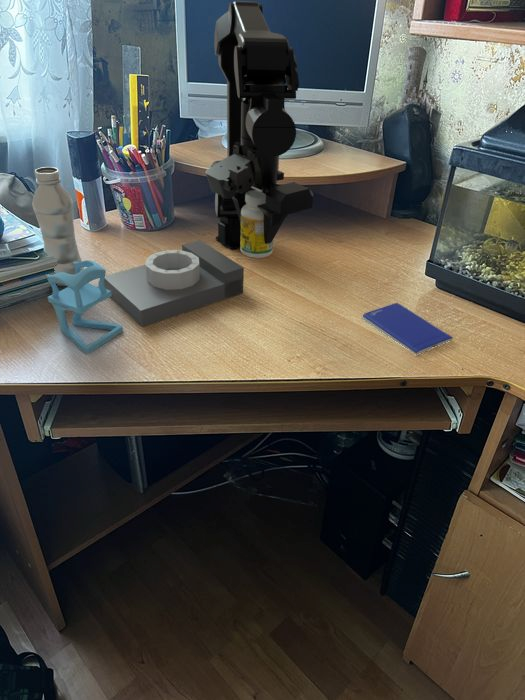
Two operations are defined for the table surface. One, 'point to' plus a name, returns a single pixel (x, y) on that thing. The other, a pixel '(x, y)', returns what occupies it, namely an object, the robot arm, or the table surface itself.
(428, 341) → the hard drive
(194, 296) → the grey ring holder base
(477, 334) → the table surface
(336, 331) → the table surface
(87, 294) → the chair
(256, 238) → the supplement bottle
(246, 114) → the robot arm
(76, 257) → the plastic bottle
